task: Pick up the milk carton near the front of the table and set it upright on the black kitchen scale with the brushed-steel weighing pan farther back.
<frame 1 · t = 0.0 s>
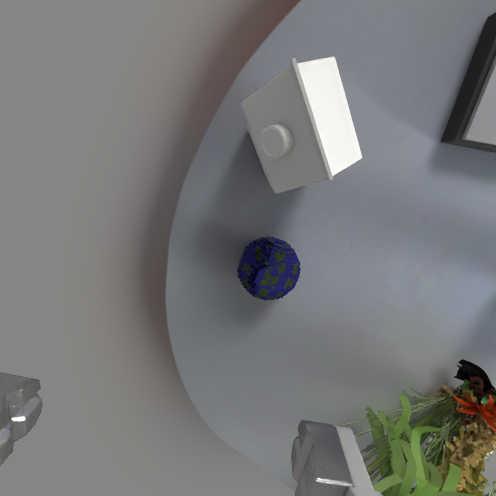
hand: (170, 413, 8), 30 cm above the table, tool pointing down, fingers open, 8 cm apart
milk carton: (282, 143, 34), on the table
ball: (266, 258, 39), on the table
plant: (423, 415, 47), on the table
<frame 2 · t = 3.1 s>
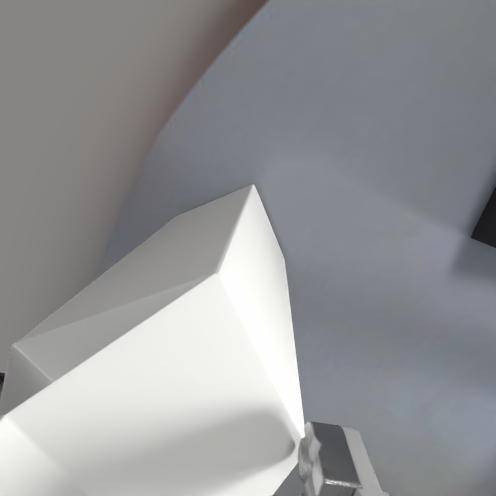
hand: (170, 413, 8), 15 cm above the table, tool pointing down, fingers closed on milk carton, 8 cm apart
milk carton: (231, 237, 22), on the table, touching gripper
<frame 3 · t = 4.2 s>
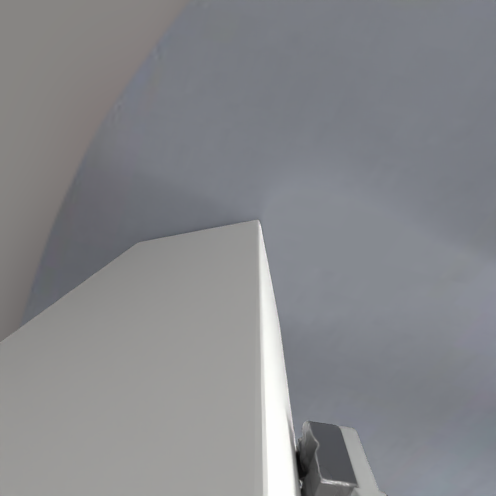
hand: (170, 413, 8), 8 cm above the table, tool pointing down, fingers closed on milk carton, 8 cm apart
milk carton: (213, 283, 16), on the table, touching gripper
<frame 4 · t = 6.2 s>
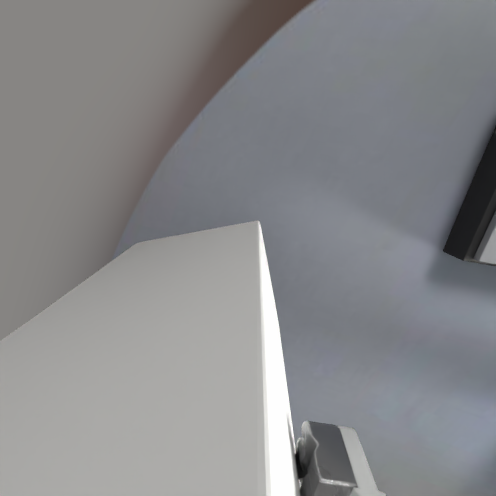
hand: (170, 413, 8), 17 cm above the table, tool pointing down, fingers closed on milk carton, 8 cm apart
milk carton: (212, 284, 16), point 9 cm above the table, touching gripper
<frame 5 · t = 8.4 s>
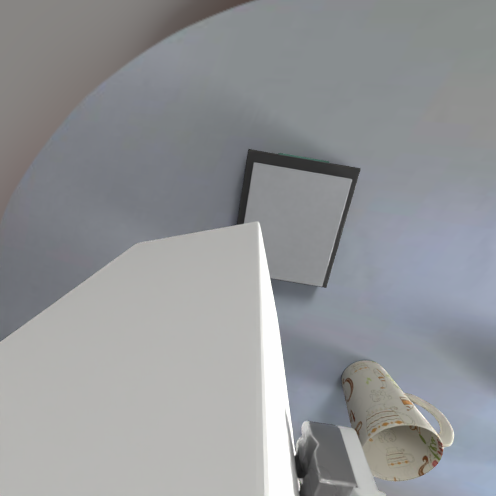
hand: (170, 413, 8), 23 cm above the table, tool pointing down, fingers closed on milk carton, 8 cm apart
milk carton: (212, 284, 16), point 15 cm above the table, touching gripper
scale: (287, 219, 29), on the table
mug: (377, 378, 36), on the table
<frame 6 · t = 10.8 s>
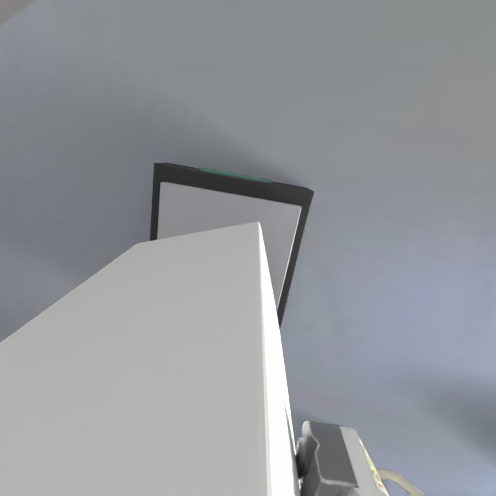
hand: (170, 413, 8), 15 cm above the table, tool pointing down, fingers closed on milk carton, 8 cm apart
milk carton: (212, 285, 16), point 6 cm above the table, touching gripper
scale: (225, 253, 22), on the table
mug: (350, 445, 29), on the table
when the fingers open (11 cm above the table, at t = 12.7 s): milk carton stays where it is, resting on scale.
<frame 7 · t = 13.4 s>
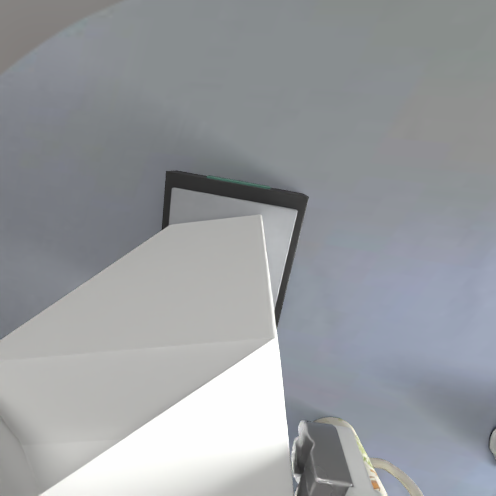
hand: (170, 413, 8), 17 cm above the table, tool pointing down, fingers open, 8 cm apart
milk carton: (222, 261, 21), point 3 cm above the table, touching scale
scale: (228, 253, 24), on the table
mug: (345, 436, 31), on the table
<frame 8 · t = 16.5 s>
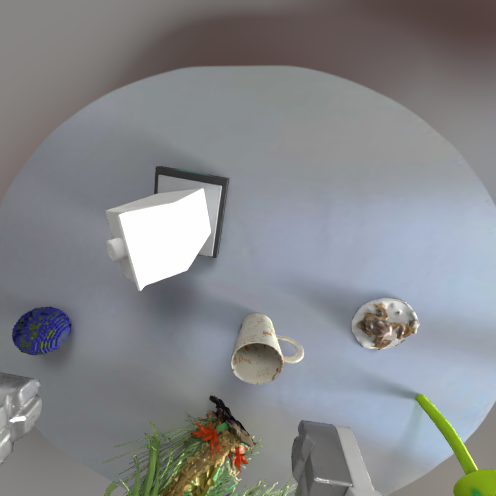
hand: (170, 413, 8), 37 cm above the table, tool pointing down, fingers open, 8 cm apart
milk carton: (185, 213, 41), point 3 cm above the table, touching scale
scale: (191, 211, 44), on the table
mug: (267, 326, 51), on the table
mushroom: (419, 397, 55), on the table
ball: (58, 318, 51), on the table
plate of food scraps: (380, 322, 50), on the table
plant: (212, 433, 60), on the table
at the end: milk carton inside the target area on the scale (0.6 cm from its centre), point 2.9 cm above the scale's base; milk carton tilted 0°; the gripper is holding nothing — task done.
